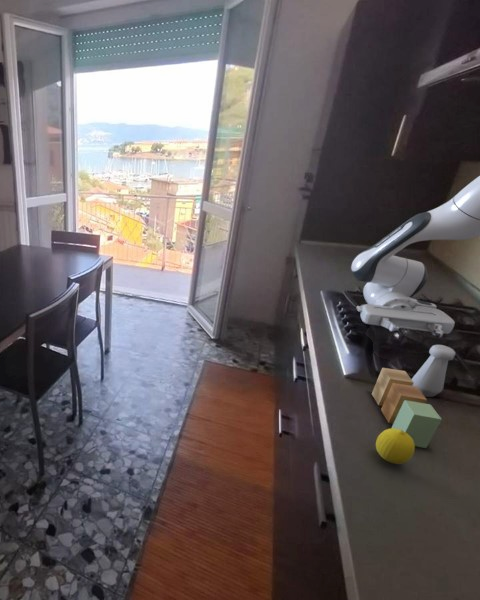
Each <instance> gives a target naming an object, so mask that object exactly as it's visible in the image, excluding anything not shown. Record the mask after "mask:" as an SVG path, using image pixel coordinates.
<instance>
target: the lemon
mask: <svg viewBox="0 0 480 600" xmlns="http://www.w3.org/2000/svg"><path fill="white" fill-rule="evenodd" d="M375 449H376V452H377V453H378V455H379V456H380V457H381V458H382V459H383V460H384V461H386V462H388V463H390V464H394V465H395V464H398V465H401V464H405V463H407V462H409V461H410V460H411V459H412V458H413V456H414V454H415V450H416V446H415V444H414V441H413V439H412V438H411V437H410V435H408V434H407V433H406V432H404V431H402V430H399V429H394V428H393V429H392V428H387V429H384V430H383V431H381V432H380V434H379V435H378V436H377V437H376V441H375Z"/></svg>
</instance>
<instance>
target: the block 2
mask: <svg viewBox="0 0 480 600" xmlns="http://www.w3.org/2000/svg"><path fill="white" fill-rule="evenodd" d="M404 400H407V401H413V402H418V403H424V404H427V400H428V399H427V398H426V396H424V395H423V394H422V393H421V391H420V390H419V389H418V387H416V386H409V385H403V384H397V383H393V384H392V386H391V388H390V390H389V393H388V395H387V397H386V399H385V402H384V404H383V406H381V408H380V411H381V412H382V415H383V416H384V417H385V419H386V421H387V423H388V424H391V425H393V424H394V421H395V419H396V417H397V415H398V413H399V411H400V409H401V407H402V404H403V402H404Z"/></svg>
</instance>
